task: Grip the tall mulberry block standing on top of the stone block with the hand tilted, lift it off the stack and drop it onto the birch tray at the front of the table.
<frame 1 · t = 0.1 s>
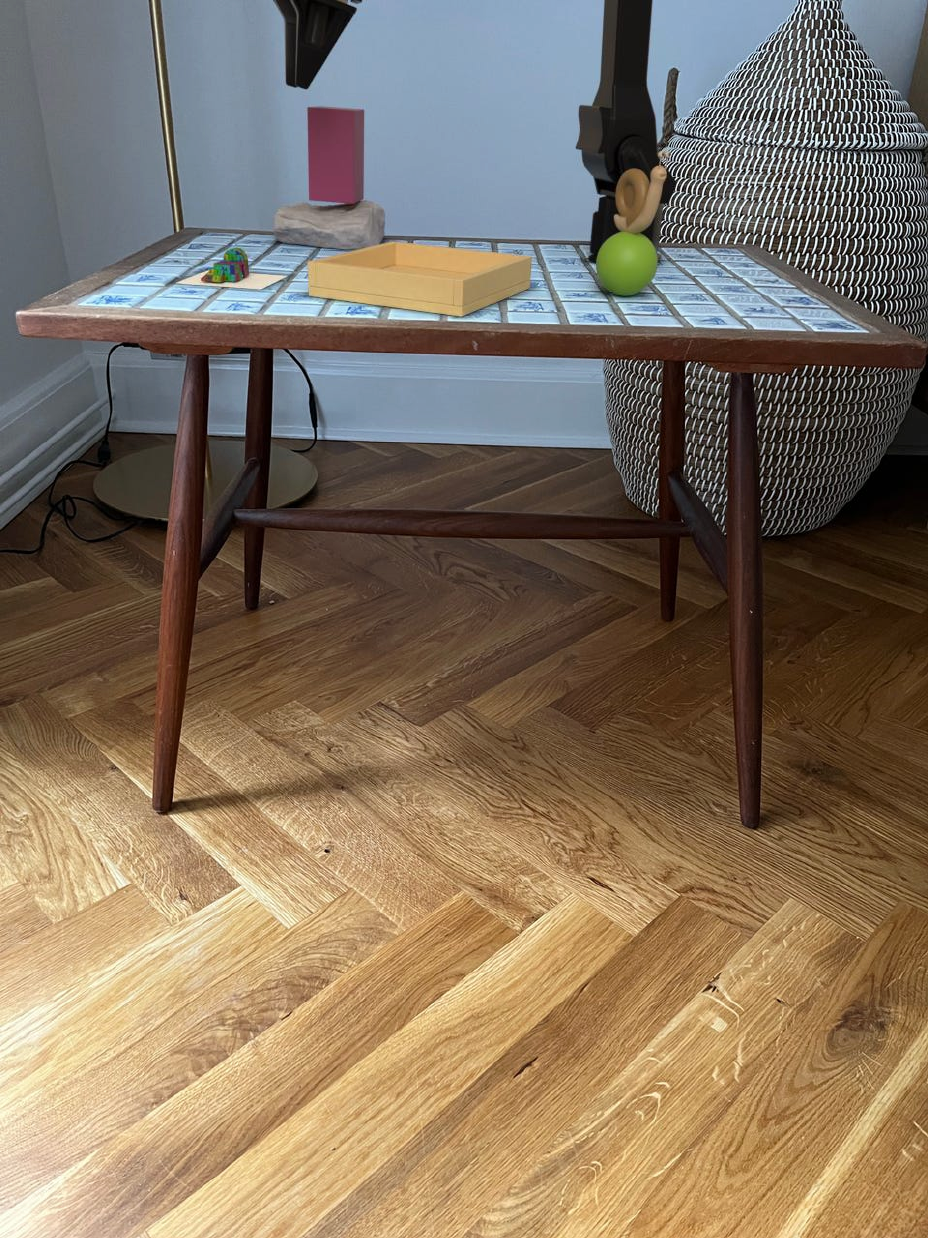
hand: (296, 86, 87), 15 cm above the table, tool pointing down, fingers open, 9 cm apart
mulberry block: (336, 199, 106), point 4 cm above the table, touching stone block
snail figurine: (626, 298, 86), on the table
patchwork stepped arch: (233, 281, 87), on the table
stone block: (329, 244, 108), on the table, touching mulberry block
birch tray: (423, 291, 85), on the table
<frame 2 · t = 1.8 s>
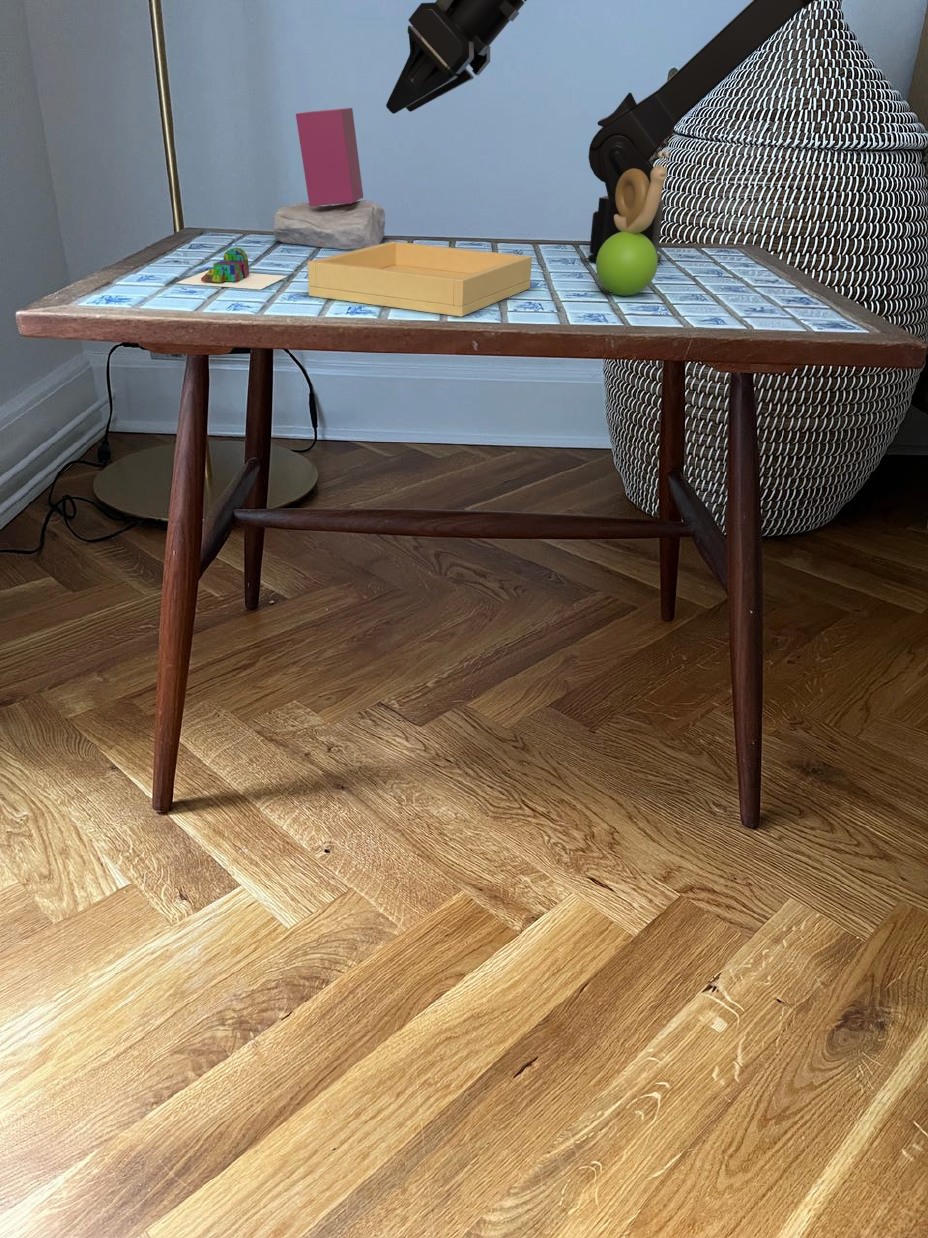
hand: (398, 108, 99), 14 cm above the table, tool tilted 40°, fingers open, 9 cm apart
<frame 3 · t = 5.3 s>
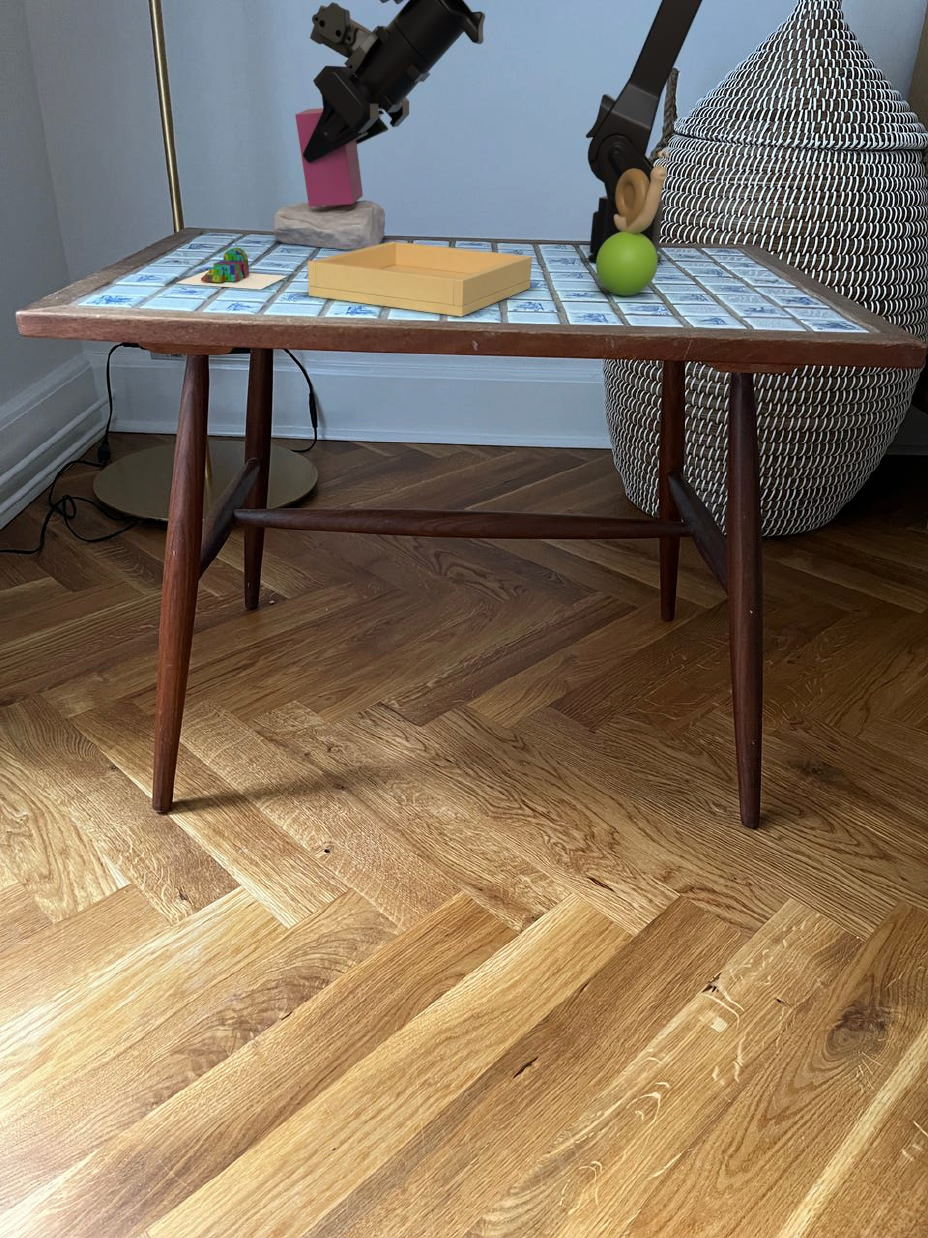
hand: (313, 157, 104), 9 cm above the table, tool tilted 45°, fingers closed on mulberry block, 5 cm apart
mulberry block: (336, 201, 106), point 4 cm above the table, tilted 7°, touching gripper, stone block
everything else where it was.
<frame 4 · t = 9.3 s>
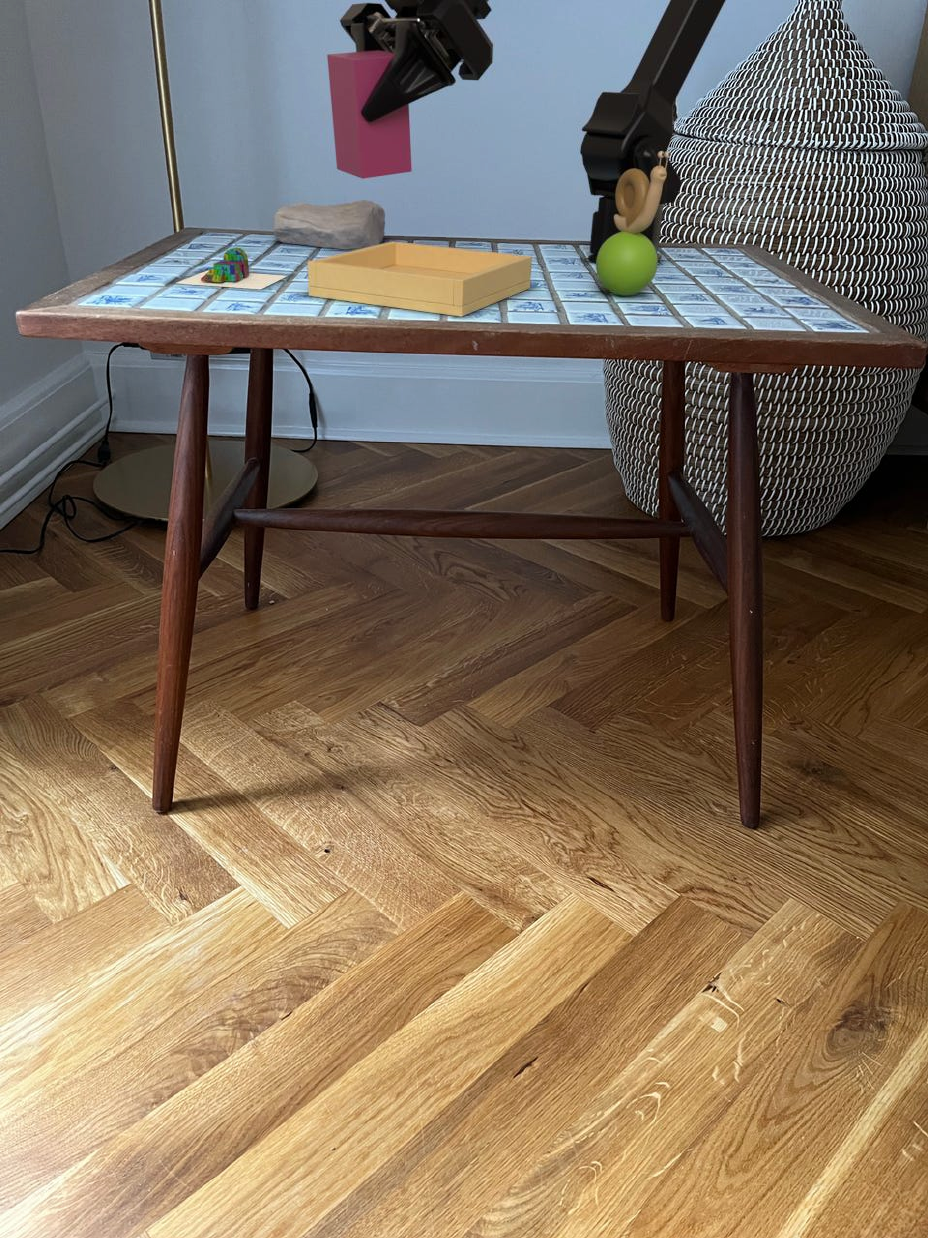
hand: (351, 116, 82), 13 cm above the table, tool tilted 45°, fingers closed on mulberry block, 5 cm apart
mulberry block: (374, 170, 85), point 9 cm above the table, tilted 7°, touching gripper
stone block: (329, 244, 108), on the table
everything else where it was.
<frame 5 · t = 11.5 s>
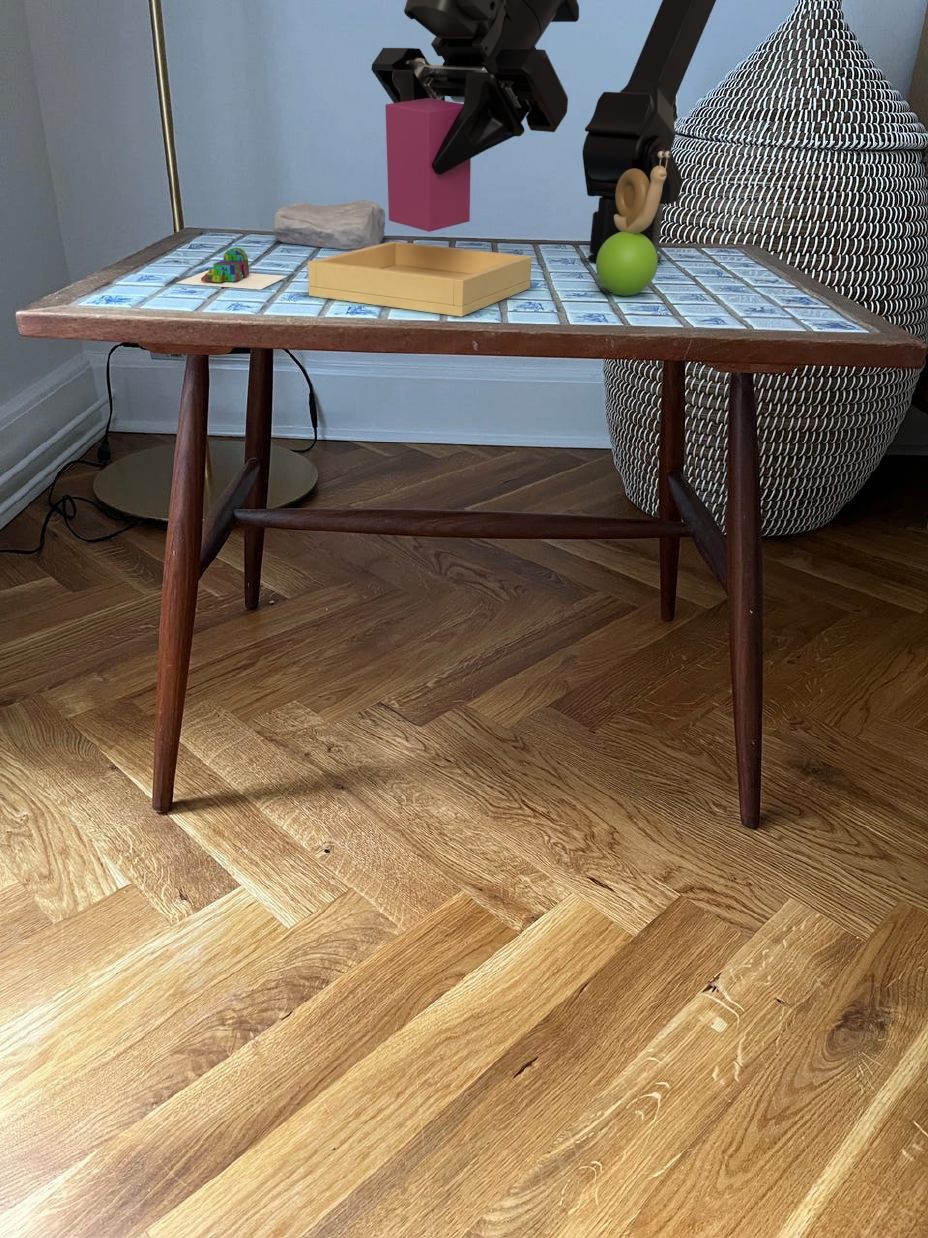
hand: (413, 167, 79), 10 cm above the table, tool tilted 45°, fingers closed on mulberry block, 5 cm apart
mulberry block: (429, 220, 83), point 6 cm above the table, tilted 7°, touching gripper
everything else where it was.
when the fingers open (6 cm above the table, at t = 13.4 s): mulberry block stays where it is, resting on birch tray.
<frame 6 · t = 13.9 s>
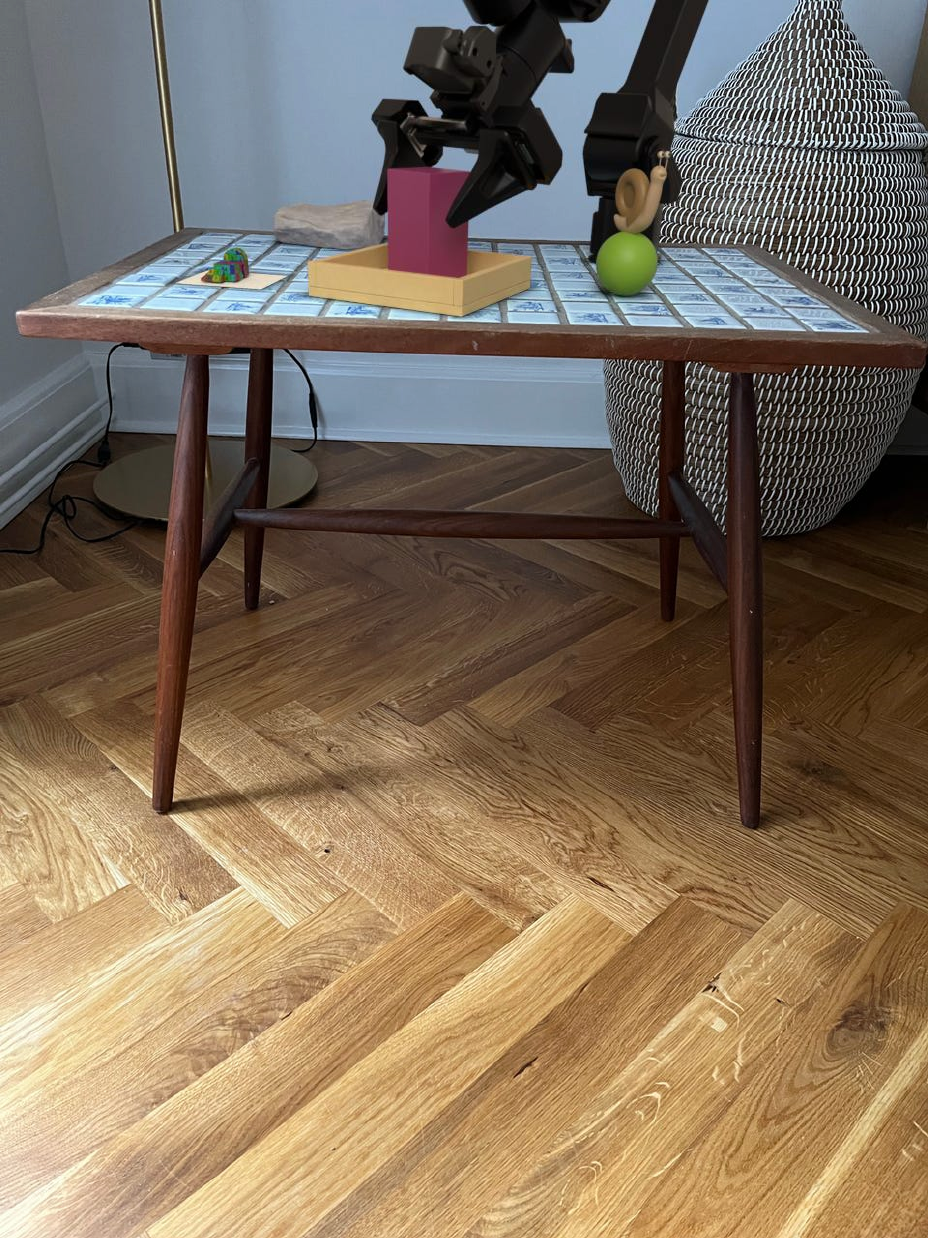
hand: (411, 217, 81), 6 cm above the table, tool tilted 45°, fingers open, 9 cm apart
mulberry block: (427, 280, 85), point 1 cm above the table, touching birch tray
everything else where it was.
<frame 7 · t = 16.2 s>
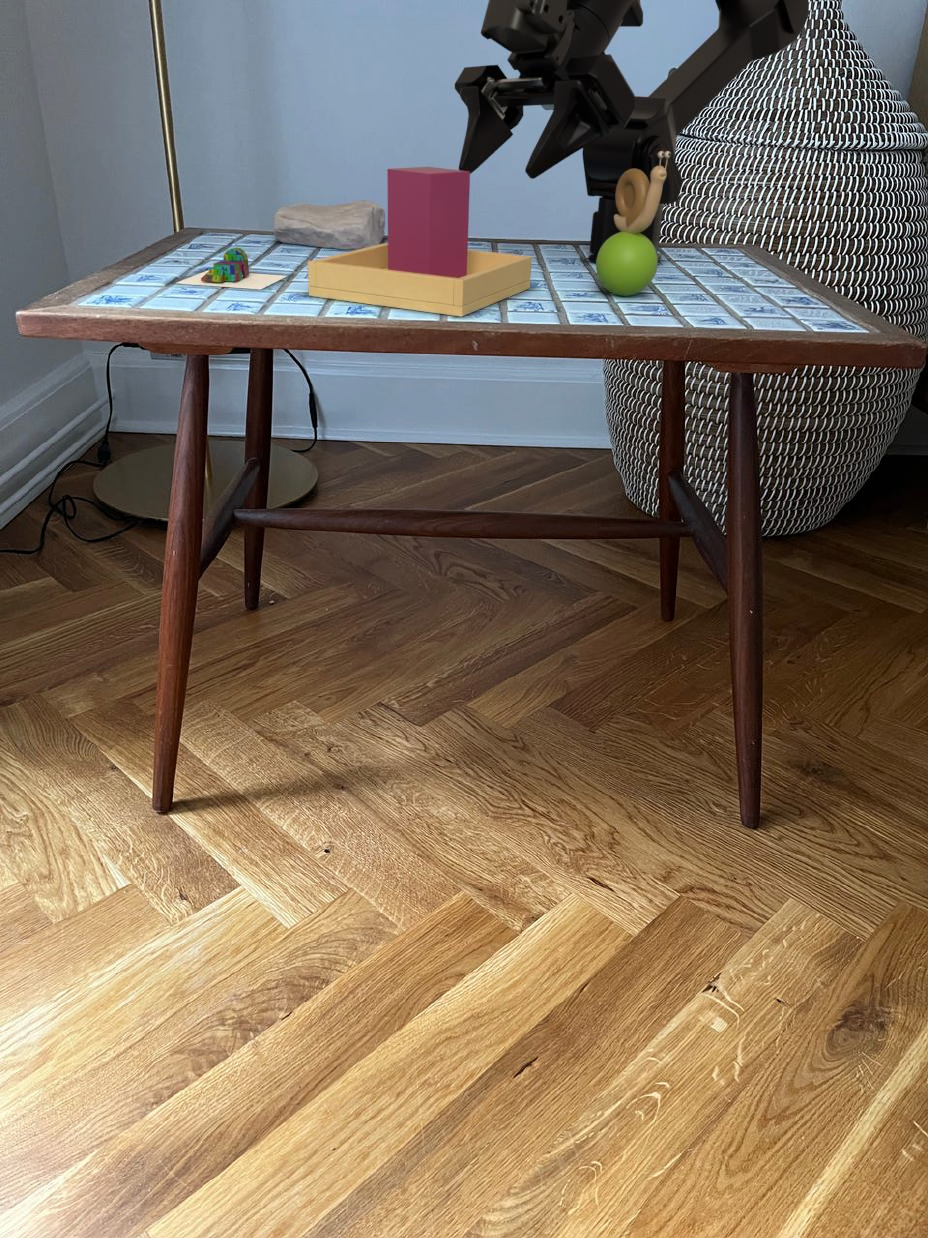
hand: (494, 173, 86), 9 cm above the table, tool tilted 40°, fingers open, 9 cm apart
nothing on the table moved.
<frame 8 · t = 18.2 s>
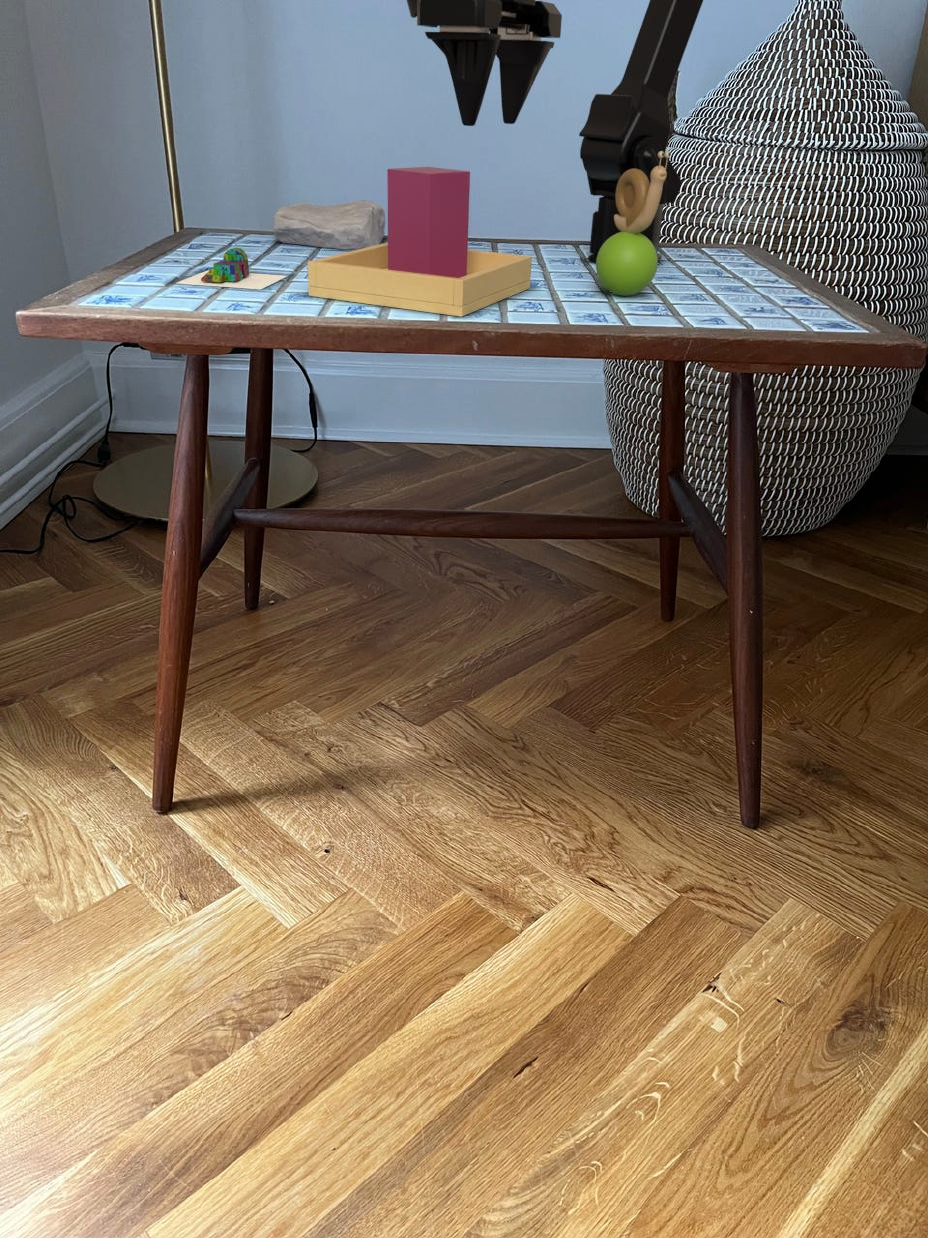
hand: (489, 124, 88), 13 cm above the table, tool pointing down, fingers open, 9 cm apart
nothing on the table moved.
at the end: mulberry block inside the target area in the birch tray (0.9 cm from its centre), point 0.8 cm above the birch tray's base; the gripper is holding nothing; stone block moved 0.2 cm from its start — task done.
